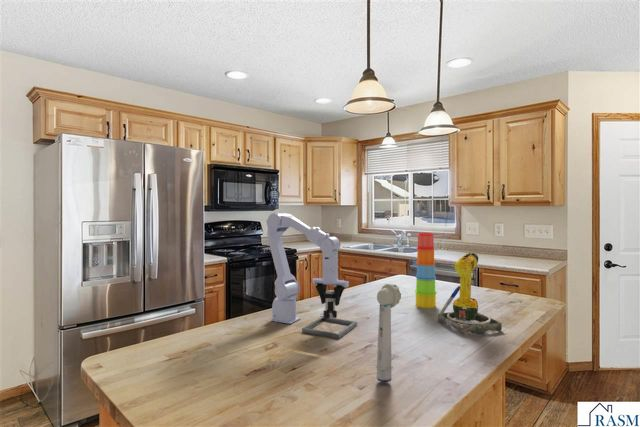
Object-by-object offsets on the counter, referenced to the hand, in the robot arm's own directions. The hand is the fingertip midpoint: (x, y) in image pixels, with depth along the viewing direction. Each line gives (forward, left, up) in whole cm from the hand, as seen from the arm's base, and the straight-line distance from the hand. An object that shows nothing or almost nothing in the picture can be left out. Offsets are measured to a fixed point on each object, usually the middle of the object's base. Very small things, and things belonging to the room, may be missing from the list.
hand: (330, 304), depth 137 cm
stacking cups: (+26, +48, -10) cm, 55 cm away
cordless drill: (+47, +29, -10) cm, 56 cm away
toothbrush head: (+31, -29, -10) cm, 44 cm away
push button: (0, -1, -5) cm, 5 cm away
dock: (0, 0, -9) cm, 9 cm away
